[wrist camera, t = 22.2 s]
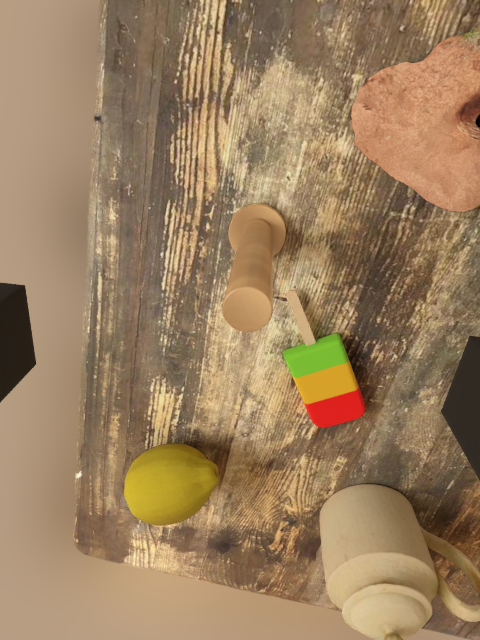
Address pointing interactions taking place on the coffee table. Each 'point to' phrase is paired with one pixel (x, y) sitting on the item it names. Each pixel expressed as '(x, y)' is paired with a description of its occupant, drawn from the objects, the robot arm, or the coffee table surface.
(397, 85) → the clay slab
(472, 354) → the robot arm
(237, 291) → the stick
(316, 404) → the popsicle
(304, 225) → the coffee table surface
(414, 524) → the sugar bowl
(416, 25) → the coffee table surface
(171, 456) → the lemon
